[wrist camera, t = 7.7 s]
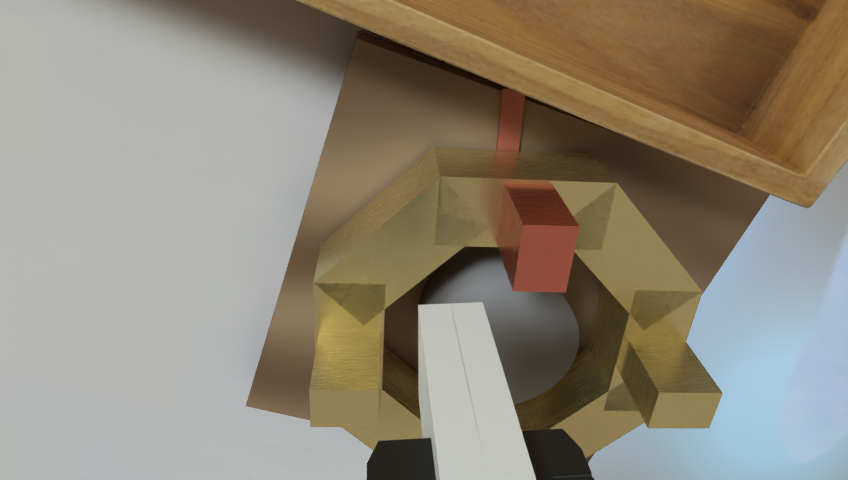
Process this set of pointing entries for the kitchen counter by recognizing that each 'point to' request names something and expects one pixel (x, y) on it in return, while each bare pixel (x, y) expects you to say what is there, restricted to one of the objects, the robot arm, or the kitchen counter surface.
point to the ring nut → (527, 272)
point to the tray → (659, 72)
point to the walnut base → (471, 266)
